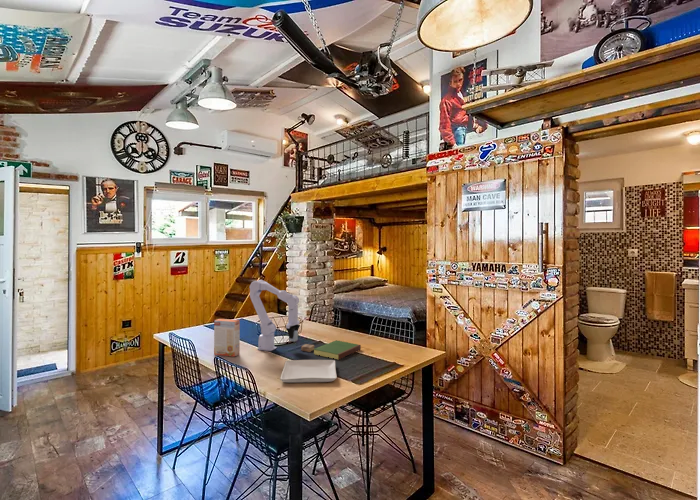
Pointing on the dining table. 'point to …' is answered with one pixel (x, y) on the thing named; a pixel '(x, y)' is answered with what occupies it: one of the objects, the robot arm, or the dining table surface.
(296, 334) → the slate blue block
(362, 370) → the dining table surface
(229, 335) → the cracker box
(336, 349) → the hardcover book
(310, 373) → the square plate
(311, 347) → the walnut base block
